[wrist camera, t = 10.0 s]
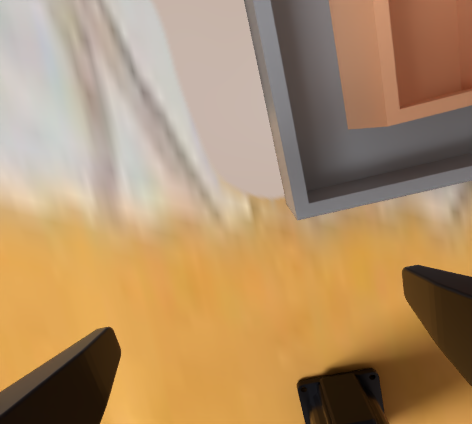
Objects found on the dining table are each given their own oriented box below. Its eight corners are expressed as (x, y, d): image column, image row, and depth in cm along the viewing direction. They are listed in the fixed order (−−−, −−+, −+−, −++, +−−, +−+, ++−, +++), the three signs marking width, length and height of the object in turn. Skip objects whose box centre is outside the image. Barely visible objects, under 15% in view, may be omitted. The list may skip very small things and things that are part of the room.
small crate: (464, 99, 17) (551, 84, 12) (348, 129, 18) (387, 126, 13) (454, -101, 15) (556, -215, 10) (319, -59, 15) (355, -149, 11)
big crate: (527, 148, 19) (601, 151, 15) (286, 204, 20) (297, 220, 16) (527, -206, 15) (631, -330, 11) (221, -107, 16) (215, -186, 12)
